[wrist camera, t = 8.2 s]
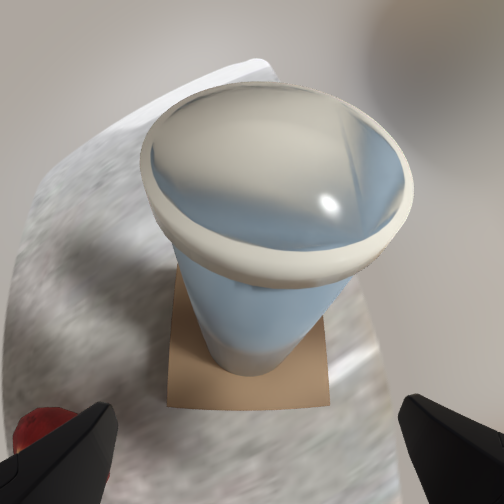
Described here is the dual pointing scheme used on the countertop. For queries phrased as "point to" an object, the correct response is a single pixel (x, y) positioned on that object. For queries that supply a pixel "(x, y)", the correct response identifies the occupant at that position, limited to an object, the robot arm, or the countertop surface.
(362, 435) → the countertop surface
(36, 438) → the onion
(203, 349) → the block
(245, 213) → the tumbler
